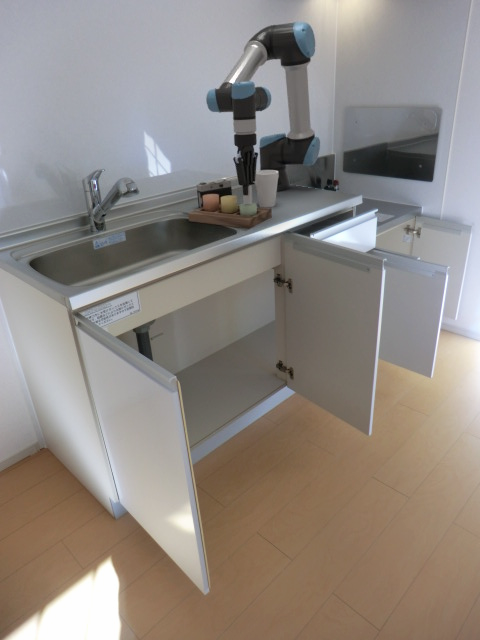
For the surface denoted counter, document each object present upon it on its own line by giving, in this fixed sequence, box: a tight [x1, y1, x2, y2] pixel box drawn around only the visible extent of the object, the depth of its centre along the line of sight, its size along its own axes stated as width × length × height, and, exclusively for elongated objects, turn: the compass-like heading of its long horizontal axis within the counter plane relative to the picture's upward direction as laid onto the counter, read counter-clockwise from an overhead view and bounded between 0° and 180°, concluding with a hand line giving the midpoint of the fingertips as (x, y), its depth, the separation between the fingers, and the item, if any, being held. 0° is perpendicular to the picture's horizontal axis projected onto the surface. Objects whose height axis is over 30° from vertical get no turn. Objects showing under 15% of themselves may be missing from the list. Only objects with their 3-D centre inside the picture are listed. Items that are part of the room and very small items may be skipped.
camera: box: [196, 178, 233, 209], centre depth 197 cm, size 14×8×10 cm, turn 120°
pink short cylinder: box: [203, 194, 220, 211], centre depth 179 cm, size 6×6×5 cm
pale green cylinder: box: [239, 202, 258, 216], centre depth 173 cm, size 6×6×5 cm
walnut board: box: [188, 204, 273, 229], centre depth 177 cm, size 16×26×3 cm, turn 58°
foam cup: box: [254, 170, 279, 208], centre depth 191 cm, size 10×9×13 cm
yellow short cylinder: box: [221, 194, 239, 213], centre depth 176 cm, size 6×6×5 cm
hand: (247, 203), depth 171 cm, fingers closed
